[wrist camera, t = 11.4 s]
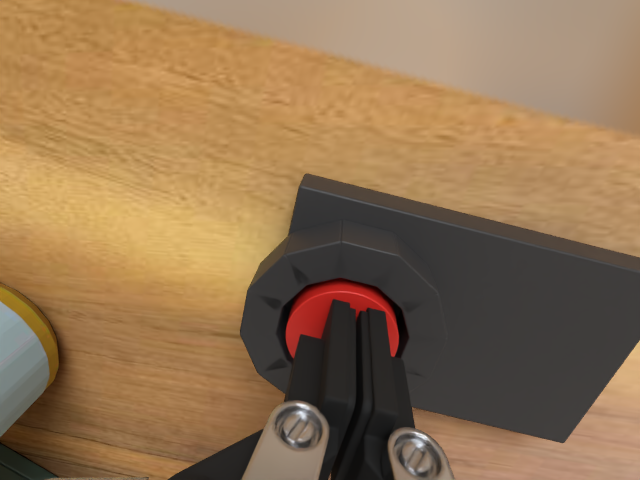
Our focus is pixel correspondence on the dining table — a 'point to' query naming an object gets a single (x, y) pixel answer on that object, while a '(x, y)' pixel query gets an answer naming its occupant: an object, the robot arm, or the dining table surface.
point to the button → (316, 304)
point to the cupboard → (20, 467)
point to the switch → (459, 305)
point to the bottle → (23, 355)
